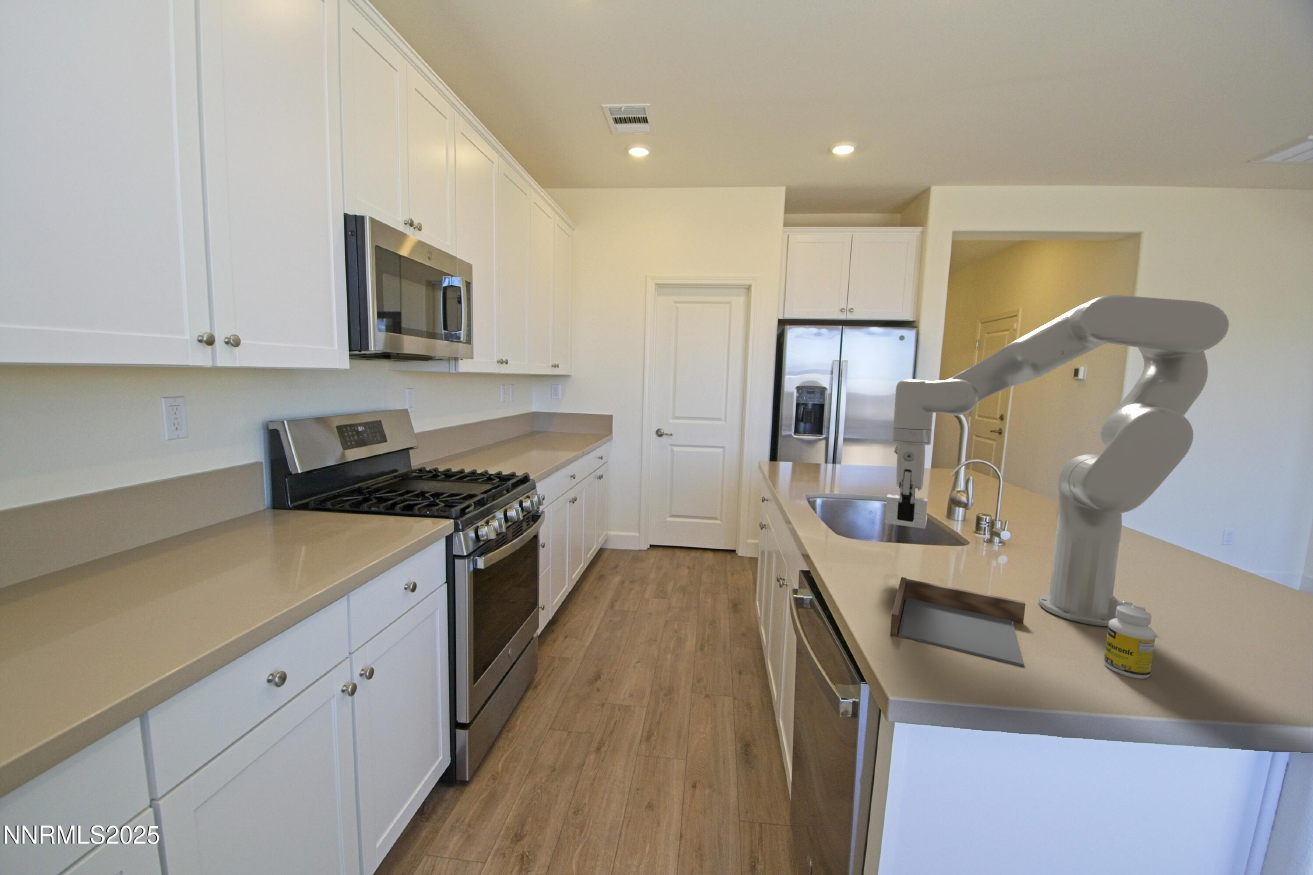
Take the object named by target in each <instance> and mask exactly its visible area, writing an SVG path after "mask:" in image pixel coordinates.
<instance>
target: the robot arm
mask: <svg viewBox="0 0 1313 875" xmlns="http://www.w3.org/2000/svg"><path fill="white" fill-rule="evenodd" d="M1229 322H1230V321H1229V318H1228V315H1227V314H1226V313H1225V312H1224V310H1222V309H1221V308H1220V307H1218V306H1216V305H1214V304H1211V303H1209V302H1204V301H1199V300H1197V301H1196V300H1186V299H1175V298H1174V299H1173V298H1159V297H1158V298H1157V297H1147V296H1136V295H1135V296H1134V295H1123V294H1122V295H1120V294H1119V295H1117V294H1115V295H1114V294H1111V295H1103V296H1099V297H1096V298H1094V299H1092V300H1089V301H1088V302H1085V303H1083V304H1080V305H1079V306H1075V308H1073V309H1070V310H1069V311H1067V312H1065V313H1064V314H1062V315H1059V316H1058V317H1056V318H1055V319H1053V320H1051V321H1048V322H1046V323H1045V324H1044V325H1041V326H1039V327H1038V328H1036V329H1034V330H1033V331H1031V332H1029V333H1027V334H1025V335H1023V336H1021V337H1020V338H1017V339H1016V340H1013V341H1012V342H1010V343H1009V344H1006V345H1005V346H1004V347H1002V348H1001V349H999V350H998V351H996V352H994V353H993V354H991V355H990V356H988V357H987V358H984V359H983V360H981V361H979V362H978V363H976V364H974V365H972V366H970V367H968V368H967V369H964V370H963V371H961V372H959V373H957V374H956V375H954V376H952V377H950V378H948V379H945V380H934V381H933V380H926V379H904V380H900V381H898V383H897V384H896V386H895V396H894V415H893V425H892V428H893V430H892V443H894V444H897V455H896V487H897V489H899V496H900V498H899V502H898V513H897V519H898V520H902V521H909V522H913V520H914V506H915V504H914V503H913V501H914V497H915V498H916V490H917V491H918V492H919V491H921V490H922V489H923V487H924V475H925V463H926V462H925V460H926V459H925V458H926V446H929V445H931V444H932V428H933V418H934V416H933V415H934V414H935V413H936V414H941V415H942V414H943V415H949V416H962V415H965V414H968V413H969V412H971V411H972V410H973V409H974V408H975V407H976V406H977V404H978V403H979V402H981V401H983V400H984V399H986V398H989V397H991V396H993V395H995V394H997V393H999V392H1001V391H1004V390H1006V389H1008V388H1011V387H1014V386H1018V385H1022V384H1024V383H1028V382H1030V381H1033V380H1036V379H1038V378H1041V377H1043V376H1044V375H1047V374H1049V373H1050V372H1053V371H1054V370H1056V369H1057V368H1059V367H1061V366H1063V365H1065V364H1067V363H1070V362H1071V361H1073V360H1075V359H1077V358H1079V357H1081V356H1083V355H1086V354H1087V353H1089V352H1092V351H1093V350H1095V349H1097V348H1099V347H1101V346H1104V345H1107V344H1109V345H1111V344H1112V345H1116V346H1118V345H1119V346H1124V347H1133V348H1137V349H1138V350H1139V352H1140V353H1141V356H1142V359H1143V364H1144V365H1143V370H1142V372H1141V375H1140V376H1139V379H1138V380H1137V381H1136V383H1135V384H1134V385H1133V387H1132V389H1131V390H1130V391H1129V392H1128V394H1127V395H1126V396H1125V397H1124V398H1123V400H1122V401H1121V402H1120V404H1118V406H1117V407H1116V408H1115V410H1114V411H1113V412H1112V413H1111V414H1110V415H1109V416H1108V418H1107V419H1106V420H1105V421H1104V423H1103V424H1102V427H1101V430H1100V438H1101V441H1102V443H1103V444H1104V445H1105V447H1106V448H1104V450H1103V451H1102V452H1101V454H1096V453H1095V454H1093V453H1089V454H1081V455H1078V456H1076V457H1073V458H1072V459H1071V458H1070V459H1069V461H1067V462H1066V463H1065V465H1063V467H1062V469H1061V470H1060V473H1059V476H1058V516H1057V524H1056V525H1057V526H1056V532H1055V540H1054V541H1055V542H1054V547H1053V557H1052V564H1051V565H1052V569H1051V576H1050V583H1049V593H1046V594H1045V593H1044V594H1041V595H1040V596H1038V604H1039V606H1040V607H1041V608H1043V609H1044V610H1046V611H1048V612H1049V613H1051V614H1053V615H1055V616H1058V617H1061V618H1063V619H1067V620H1069V621H1074V622H1077V623H1082V624H1086V625H1091V626H1099V627H1108V624H1109V621H1110V620H1112V619H1114V618H1117V616H1116V608H1117V606H1130V607H1135V608H1138V609H1142V610H1144V611H1146V612H1147V610H1146V606H1140V605H1134V604H1133V602H1132V601H1126V600H1119V599H1117V598H1116V596H1115V595H1114V590H1115V584H1116V574H1117V566H1118V559H1119V552H1120V543H1121V538H1122V526H1123V518H1122V517H1123V516H1122V515H1123V514H1125V513H1128V512H1130V511H1133V510H1136V509H1137V508H1138V507H1140V506H1141V505H1143V504H1144V503H1145V502H1146V501H1147V500H1148V499H1149V498H1150V497H1151V496H1152V495H1153V494H1154V493H1155V492H1156V491H1157V489H1158V488H1160V486H1161V484H1162V483H1163V482H1164V481H1165V480H1167V478H1168V477H1169V476H1170V474H1172V472H1174V470H1175V469H1176V467H1178V466H1179V464H1180V463H1181V461H1182V460H1183V459H1184V458H1185V457H1186V455H1187V454H1188V453H1189V450H1190V449H1191V448H1192V447H1191V446H1192V444H1193V440H1194V429H1193V426H1192V424H1191V423H1190V421H1189V420H1188V419H1187V418H1186V416H1185V415H1186V413H1188V411H1189V410H1190V408H1192V406H1193V404H1194V403H1195V401H1196V400H1197V399H1198V397H1200V395H1201V393H1202V392H1203V389H1204V388H1205V386H1206V384H1207V380H1208V374H1209V367H1208V366H1209V365H1208V361H1207V360H1208V359H1207V356H1206V354H1205V351H1207V350H1210V349H1212V348H1213V347H1215V346H1216V345H1218V344H1220V342H1222V340H1223V339H1225V337H1226V335H1227V334H1228V331H1229V327H1230V323H1229Z"/></svg>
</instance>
